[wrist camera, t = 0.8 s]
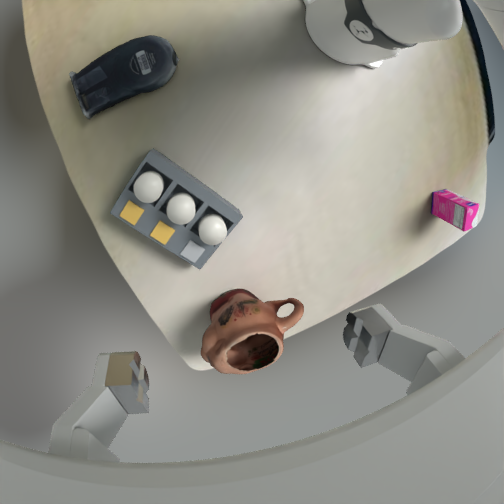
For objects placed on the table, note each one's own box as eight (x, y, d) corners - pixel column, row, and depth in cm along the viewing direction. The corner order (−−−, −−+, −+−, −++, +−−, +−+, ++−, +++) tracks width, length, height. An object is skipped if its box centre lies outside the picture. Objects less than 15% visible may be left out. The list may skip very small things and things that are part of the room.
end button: (146, 165, 34) (144, 168, 32) (169, 180, 36) (168, 184, 34) (131, 188, 35) (128, 192, 33) (153, 203, 37) (151, 208, 35)
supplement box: (445, 187, 52) (480, 203, 42) (443, 209, 55) (476, 227, 45) (431, 190, 51) (467, 207, 41) (430, 214, 54) (464, 233, 44)
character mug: (265, 251, 49) (292, 297, 37) (298, 291, 55) (326, 337, 43) (182, 312, 51) (185, 367, 39) (221, 343, 57) (232, 394, 45)
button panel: (153, 148, 36) (149, 150, 33) (239, 209, 44) (243, 217, 41) (115, 205, 39) (109, 213, 36) (199, 259, 47) (200, 270, 43)
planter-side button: (209, 208, 39) (210, 214, 37) (230, 223, 41) (232, 229, 39) (193, 229, 40) (193, 235, 38) (214, 242, 42) (215, 250, 40)
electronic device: (98, 123, 34) (186, 78, 32) (80, 122, 29) (178, 69, 27) (84, 76, 30) (168, 31, 29) (66, 71, 25) (158, 17, 24)
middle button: (178, 187, 37) (177, 191, 35) (200, 202, 39) (201, 207, 37) (162, 209, 38) (161, 214, 36) (184, 223, 40) (184, 229, 37)
